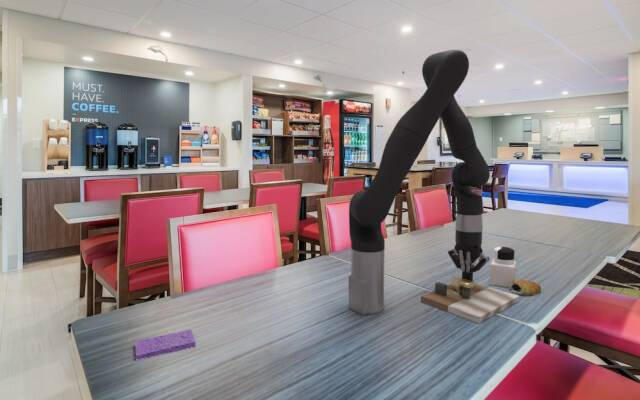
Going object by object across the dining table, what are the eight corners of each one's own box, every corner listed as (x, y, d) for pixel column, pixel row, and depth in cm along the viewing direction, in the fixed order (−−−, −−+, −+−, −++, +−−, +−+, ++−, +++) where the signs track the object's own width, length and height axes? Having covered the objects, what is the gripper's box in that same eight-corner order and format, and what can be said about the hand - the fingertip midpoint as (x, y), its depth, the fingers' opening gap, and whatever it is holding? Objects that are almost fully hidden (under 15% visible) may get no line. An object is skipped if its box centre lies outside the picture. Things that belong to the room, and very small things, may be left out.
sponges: (195, 349, 85) (195, 341, 85) (134, 362, 80) (134, 354, 80) (192, 335, 92) (191, 328, 91) (135, 347, 86) (134, 340, 86)
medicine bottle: (515, 281, 124) (517, 247, 123) (513, 288, 118) (515, 252, 117) (492, 278, 128) (493, 244, 126) (488, 284, 122) (490, 249, 120)
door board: (478, 323, 95) (479, 304, 94) (420, 301, 109) (421, 285, 108) (518, 301, 108) (519, 284, 108) (462, 284, 122) (463, 269, 122)
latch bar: (475, 299, 105) (475, 284, 105) (461, 299, 105) (462, 284, 105) (462, 285, 116) (462, 272, 115) (449, 285, 116) (450, 272, 116)
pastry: (528, 286, 121) (529, 275, 120) (547, 293, 114) (548, 282, 114) (506, 290, 117) (506, 278, 117) (524, 298, 111) (525, 286, 111)
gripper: (442, 227, 115) (441, 280, 118) (483, 233, 105) (481, 292, 107) (455, 223, 120) (454, 275, 122) (496, 229, 110) (494, 285, 112)
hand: (467, 283), depth 115 cm, fingers closed
